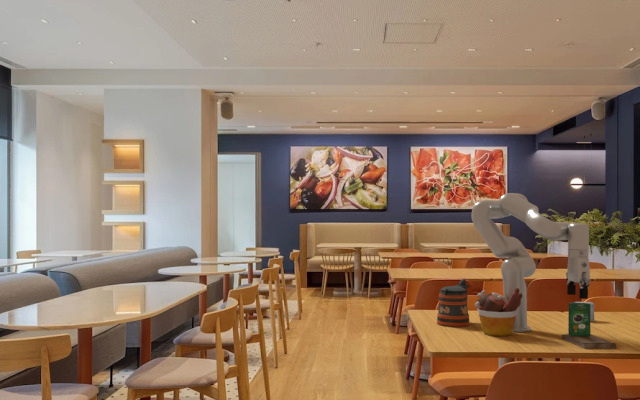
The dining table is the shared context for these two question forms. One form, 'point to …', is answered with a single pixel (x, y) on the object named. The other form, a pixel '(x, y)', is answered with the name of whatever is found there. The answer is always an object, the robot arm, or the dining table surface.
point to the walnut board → (589, 341)
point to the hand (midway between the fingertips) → (577, 296)
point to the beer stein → (453, 306)
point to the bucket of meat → (498, 312)
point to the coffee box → (579, 319)
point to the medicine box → (590, 310)
